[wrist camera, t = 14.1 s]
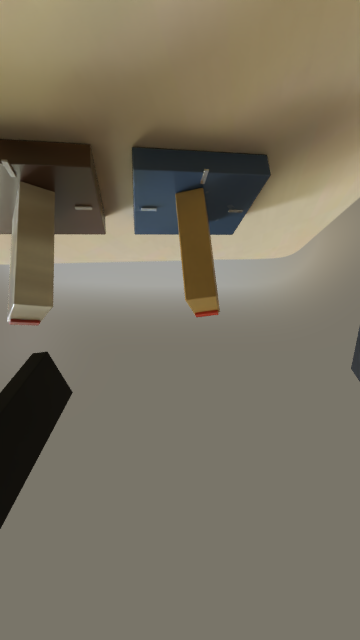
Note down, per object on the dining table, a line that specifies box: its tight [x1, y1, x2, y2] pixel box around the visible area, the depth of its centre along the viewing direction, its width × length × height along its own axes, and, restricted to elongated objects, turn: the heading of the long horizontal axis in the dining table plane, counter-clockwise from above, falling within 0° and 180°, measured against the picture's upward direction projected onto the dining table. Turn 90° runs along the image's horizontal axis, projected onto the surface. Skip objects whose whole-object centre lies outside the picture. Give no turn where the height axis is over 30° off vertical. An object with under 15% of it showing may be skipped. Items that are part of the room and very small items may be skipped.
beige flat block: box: [7, 181, 55, 325], centre depth 21 cm, size 6×2×10 cm, turn 143°
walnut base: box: [0, 139, 106, 234], centre depth 22 cm, size 11×10×2 cm
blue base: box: [132, 147, 271, 235], centre depth 25 cm, size 11×10×2 cm
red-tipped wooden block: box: [175, 188, 220, 317], centre depth 24 cm, size 6×2×10 cm, turn 11°
